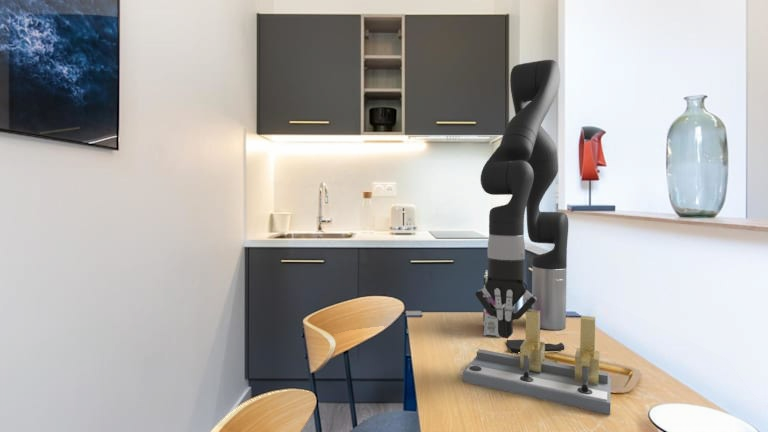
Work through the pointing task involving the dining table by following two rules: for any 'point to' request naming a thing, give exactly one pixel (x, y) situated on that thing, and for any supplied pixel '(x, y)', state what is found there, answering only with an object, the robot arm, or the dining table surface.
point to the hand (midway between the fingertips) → (505, 336)
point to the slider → (532, 344)
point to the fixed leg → (587, 355)
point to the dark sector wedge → (515, 344)
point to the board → (538, 381)
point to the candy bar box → (489, 317)
